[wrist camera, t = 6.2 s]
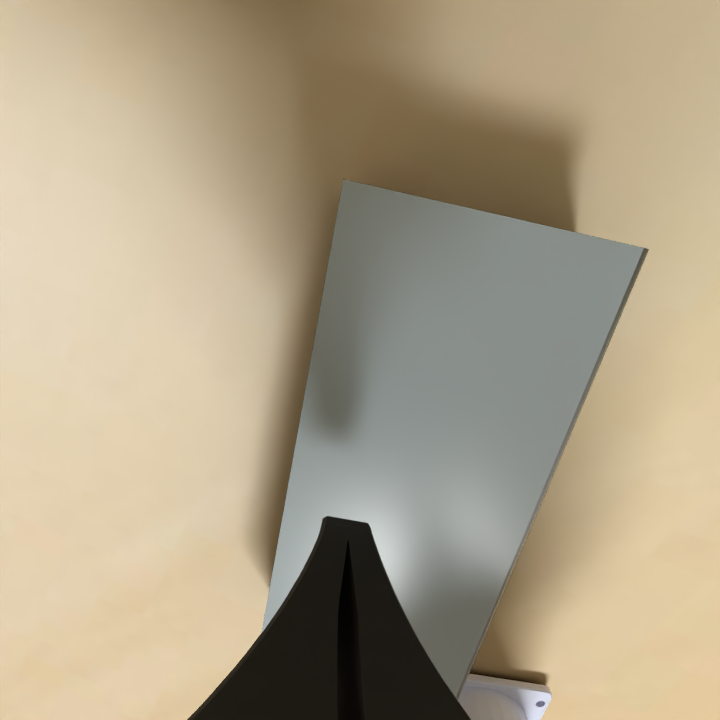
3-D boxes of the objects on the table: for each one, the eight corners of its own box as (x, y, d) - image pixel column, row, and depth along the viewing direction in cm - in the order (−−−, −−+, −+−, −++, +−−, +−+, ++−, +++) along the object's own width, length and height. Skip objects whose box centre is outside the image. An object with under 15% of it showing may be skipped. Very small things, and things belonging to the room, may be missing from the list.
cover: (457, 687, 18) (460, 702, 17) (258, 656, 17) (254, 670, 17) (639, 249, 12) (653, 250, 11) (344, 182, 11) (343, 179, 11)
